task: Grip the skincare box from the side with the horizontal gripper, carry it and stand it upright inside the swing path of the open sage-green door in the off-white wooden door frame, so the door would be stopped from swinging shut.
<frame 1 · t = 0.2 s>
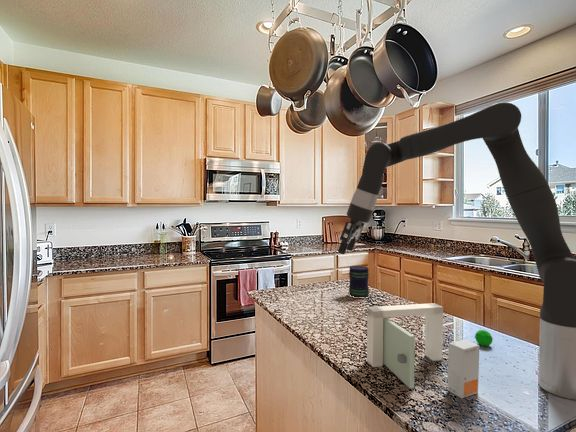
hand: (345, 251, 108), 31 cm above the counter, tool tilted 20°, fingers open, 8 cm apart
door frame: (404, 360, 98), on the counter
skincare box: (463, 392, 81), on the counter
polyhedron: (483, 345, 109), on the counter
door: (393, 349, 89), point 7 cm above the counter, hinge at 90.0°
storage jar: (358, 296, 168), on the counter
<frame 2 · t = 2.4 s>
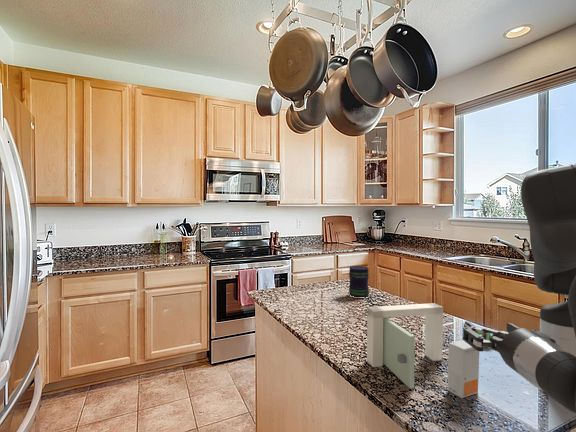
hand: (487, 326, 70), 20 cm above the counter, tool horizontal, fingers open, 8 cm apart
nothing on the counter moved.
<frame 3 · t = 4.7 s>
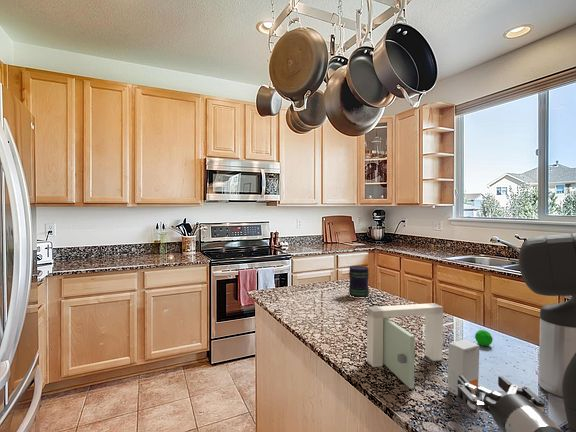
hand: (479, 379, 73), 7 cm above the counter, tool horizontal, fingers open, 8 cm apart
nothing on the counter moved.
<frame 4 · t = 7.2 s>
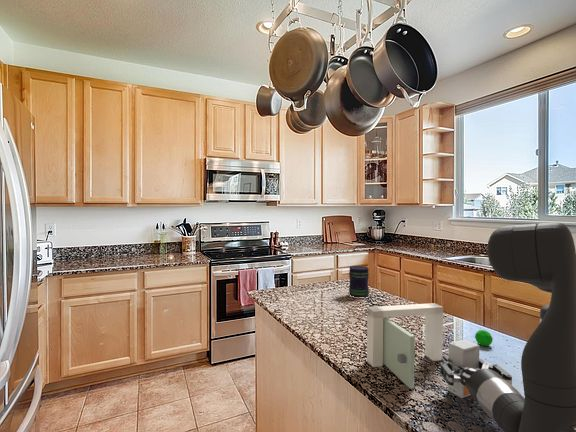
hand: (459, 359, 83), 7 cm above the counter, tool horizontal, fingers closed on skincare box, 7 cm apart
skincare box: (463, 392, 81), on the counter, touching gripper
everything else where it was.
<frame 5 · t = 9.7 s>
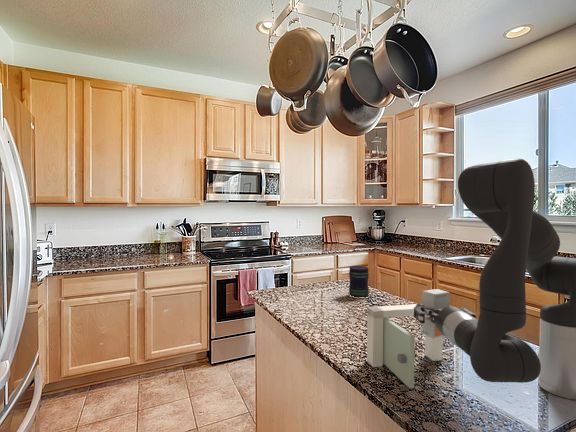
hand: (432, 306, 92), 18 cm above the counter, tool horizontal, fingers closed on skincare box, 7 cm apart
skincare box: (435, 335, 90), point 10 cm above the counter, touching gripper
everything else where it was.
when the fingers open (8 cm above the counter, at t = 12.2 s): skincare box drops 1 cm, on the counter.
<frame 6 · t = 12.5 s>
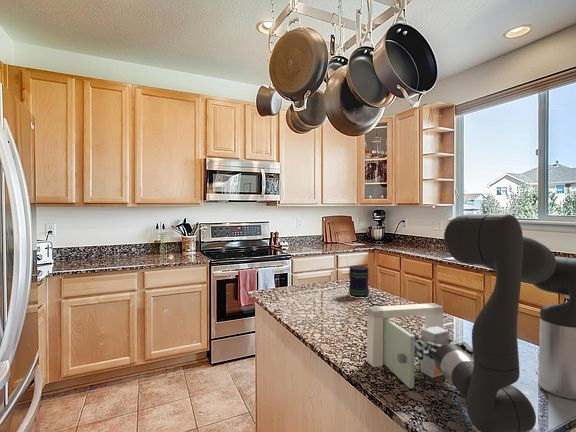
hand: (431, 339, 92), 8 cm above the counter, tool horizontal, fingers open, 8 cm apart
skincare box: (434, 373, 90), on the counter
everything else where it was.
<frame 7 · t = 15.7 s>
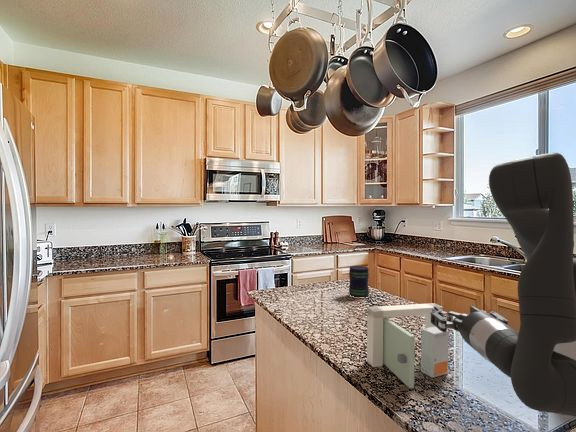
hand: (453, 310, 79), 21 cm above the counter, tool horizontal, fingers open, 8 cm apart
nothing on the counter moved.
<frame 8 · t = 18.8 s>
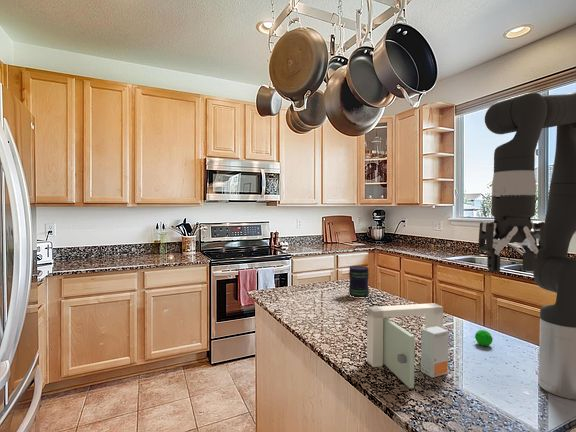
hand: (511, 271, 69), 32 cm above the counter, tool pointing down, fingers open, 8 cm apart
nothing on the counter moved.
at the end: skincare box inside the target area (0.2 cm from its centre), on the counter; skincare box tilted 0°; door at +90° (first picture: +90°) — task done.
